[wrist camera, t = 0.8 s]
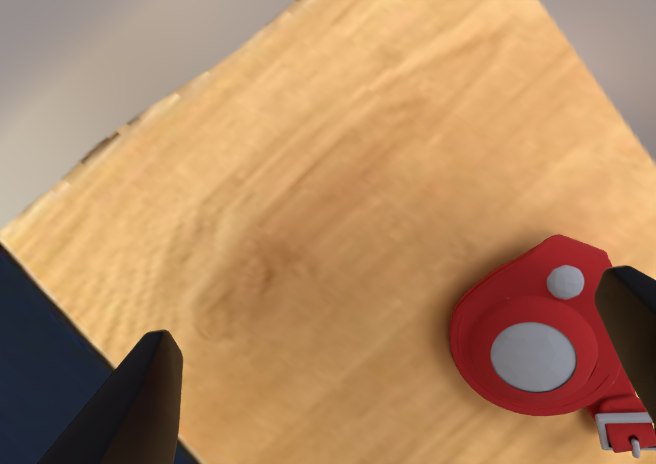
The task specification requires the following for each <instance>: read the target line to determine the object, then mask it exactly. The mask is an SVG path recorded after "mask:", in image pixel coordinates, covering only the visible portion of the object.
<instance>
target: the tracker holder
mask: <svg viewBox="0 0 656 464" xmlns="http://www.w3.org/2000/svg"><path fill="white" fill-rule="evenodd" d="M609 267H612V264H611V262H610V260H609V259H608V255H607V253H606V252H605V251H604V250H601V249H598V248H596V247H593V246H590V245H588V244H585V243H582V242H579V241H577V240H574V239H571V238H569V237H566V236H563V235H559V234H558V235H554V236H551V237H549V238H547V239H546V240H544V241H543V242H542V243H541V244H539V245H537V246H536V247H534V248H533V249H531V250H530V251H528V252H526V253H525V254H523V255H522V256H520V257H518V258H516V259H514V260H512V261H510V262H508V263H506V264H504V265H502V266H500V267H498V268H497V269H495V270H494V271H492V272H491V273H489V274H488V275H487V276H486V277H484V278H483V279H482V280H480V281H479V282H478V283H477V284H475V285H474V286H473V287H472V288H471V289H470V290H469V291H468V292H466V293H465V294H464V295H463V297H462V298H461V299H460V300H459V302H458V303H457V304H456V306H455V308H454V310H453V313H452V316H451V320H450V327H449V339H450V347H451V353H452V357H453V359H454V362H455V364H456V367H457V368H458V370H459V372H460V374H461V375H462V377H463V378H464V379H465V381H466V382H467V383H468V384H469V385H470V386H471V387H472V388H473V389H474V390H475V391H476V392H477V393H478V394H480V395H481V396H482V397H483V398H485V399H486V400H488V401H490V402H492V403H493V404H495V405H497V406H499V407H502V408H504V409H507V410H510V411H513V412H516V413H520V414H526V415H533V416H552V415H561V414H567V413H570V412H574V411H577V410H579V409H582V408H584V407H586V409H587V410H588V412H589V413H590V415H591V416H592V418H593V419H594V420H595V422H596V424H597V429H598V433H599V438H600V443H601V447H602V449H603V450H613V451H614V452H615V453H619V452H626V451H632V454H633V456H634V457H635V458H639V457H640V450H656V426H655V425H654V429H653V426H652V423H653V421H652V419H651V418H650V416H649V414H648V412H647V411H646V409H645V407H644V405H643V404H642V402H641V400H640V399H639V398H637V397H636V394H635V391H634V388H633V386H632V385H631V383H630V381H629V379H628V377H627V375H626V373H625V371H624V369H623V367H622V365H621V363H620V361H619V358H618V356H617V354H616V351H615V349H614V347H613V344H612V342H611V340H610V338H609V335H608V333H607V331H606V328H605V326H604V324H603V322H602V319H601V317H600V315H599V312H598V310H597V308H596V305H595V301H594V296H595V292H596V289H597V286H598V284H599V281H600V279H601V276H602V273H603V271H604V270H605V269H606V268H609Z"/></svg>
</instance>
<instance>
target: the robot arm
mask: <svg viewBox="0 0 656 464" xmlns="http://www.w3.org/2000/svg"><path fill="white" fill-rule="evenodd" d="M594 301H595V305H596V308H597V310H598V312H599V315H600V317H601V319H602V322H603V324H604V326H605V328H606V331H607V333H608V335H609V338H610V340H611V342H612V344H613V347H614V349H615V351H616V354H617V356H618V358H619V361H620V363H621V365H622V367H623V369H624V371H625V373H626V375H627V377H628V379H629V381H630V383H631V385H632V386H633V388H634V390H635V392H636V393H637V395H638V397H639V399H640V400H641V402H642V404H643V405H644V407H645V409H646V411H647V412H648V414H649V416H650V418H651V419H652V421H653V423H654V425H655V426H656V280H654V279H653V278H651V277H649V276H647V275H645V274H644V273H642V272H640V271H638V270H636V269H635V268H633V267H630V266H626V265H624V266H616V267H609V268H606V269H605V270H604V271H603V273H602V276H601V279H600V281H599V284H598V286H597V289H596V292H595V296H594ZM182 371H183V356H182V353H181V350H180V349H179V347H178V345H177V344H176V342H175V340H174V339H173V337H172V335H171V334H170V332H169V331H167V330H157V331H151V332H148V333H146V334H145V335H144V336H143V337H142V338H141V339H140V341H139V342H138V343H137V344H136V345H135V347H134V348H133V349H132V350H131V351H130V353H129V354H128V355H127V356H126V357H125V359H124V360H123V361H122V362H121V363H120V365H119V366H118V367H117V368H116V369H115V371H114V372H113V373H112V374H111V375H110V377H109V378H108V379H107V380H106V381H105V383H104V384H103V385H102V386H101V387H100V389H99V390H98V391H97V392H96V393H95V395H94V396H93V397H92V398H91V399H90V401H89V402H88V403H87V404H86V405H85V407H84V408H83V409H82V410H81V411H80V413H79V414H78V415H77V416H76V417H75V419H74V420H73V421H72V422H71V423H70V425H69V426H68V427H67V428H66V429H65V431H64V432H63V433H62V434H61V435H60V437H59V438H58V439H57V440H56V441H55V443H54V444H53V445H52V446H51V447H50V449H49V450H48V451H47V452H46V453H45V455H44V456H43V457H42V458H41V459H40V461H39V462H38V463H37V464H173V462H174V456H175V450H176V445H177V438H178V431H179V419H180V403H181V387H182Z"/></svg>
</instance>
